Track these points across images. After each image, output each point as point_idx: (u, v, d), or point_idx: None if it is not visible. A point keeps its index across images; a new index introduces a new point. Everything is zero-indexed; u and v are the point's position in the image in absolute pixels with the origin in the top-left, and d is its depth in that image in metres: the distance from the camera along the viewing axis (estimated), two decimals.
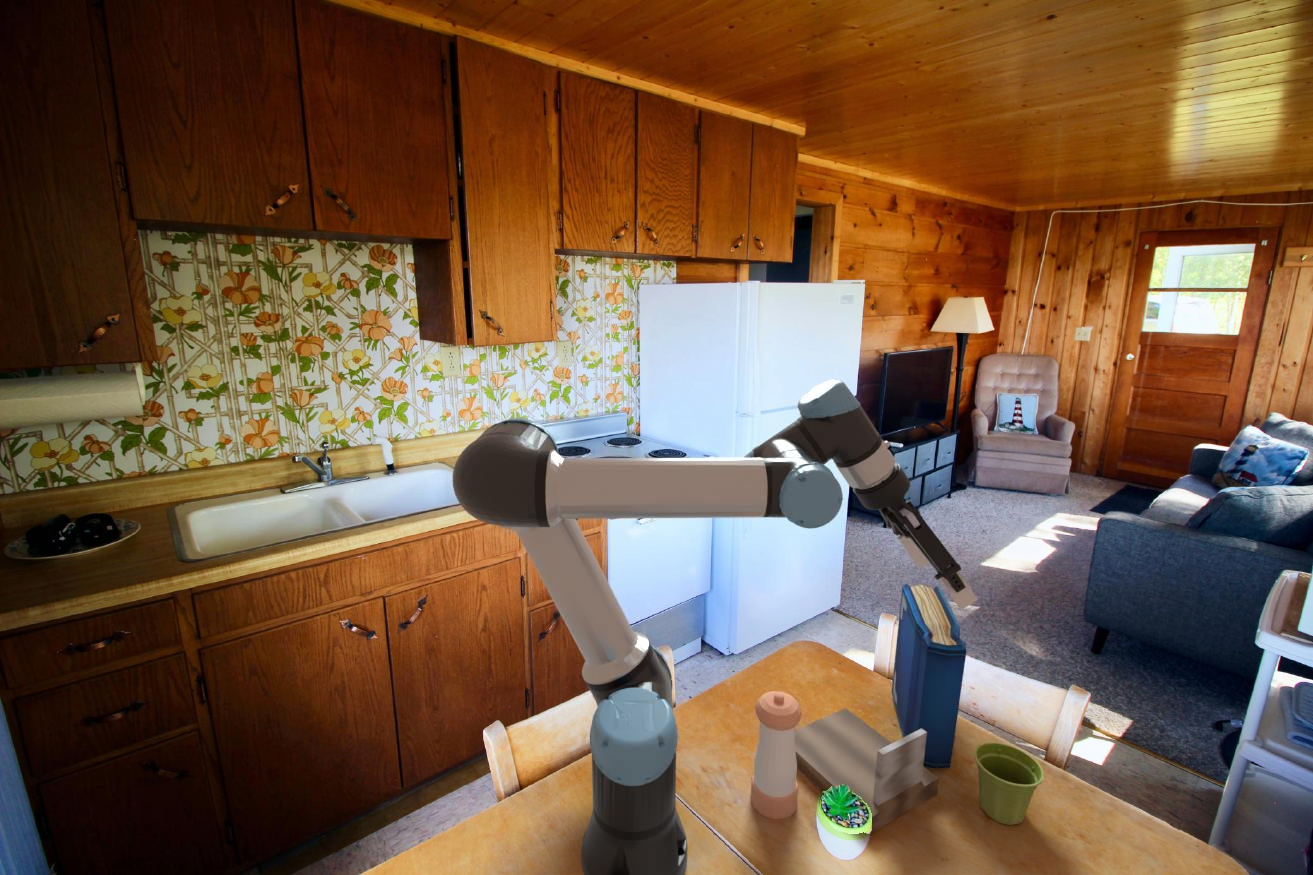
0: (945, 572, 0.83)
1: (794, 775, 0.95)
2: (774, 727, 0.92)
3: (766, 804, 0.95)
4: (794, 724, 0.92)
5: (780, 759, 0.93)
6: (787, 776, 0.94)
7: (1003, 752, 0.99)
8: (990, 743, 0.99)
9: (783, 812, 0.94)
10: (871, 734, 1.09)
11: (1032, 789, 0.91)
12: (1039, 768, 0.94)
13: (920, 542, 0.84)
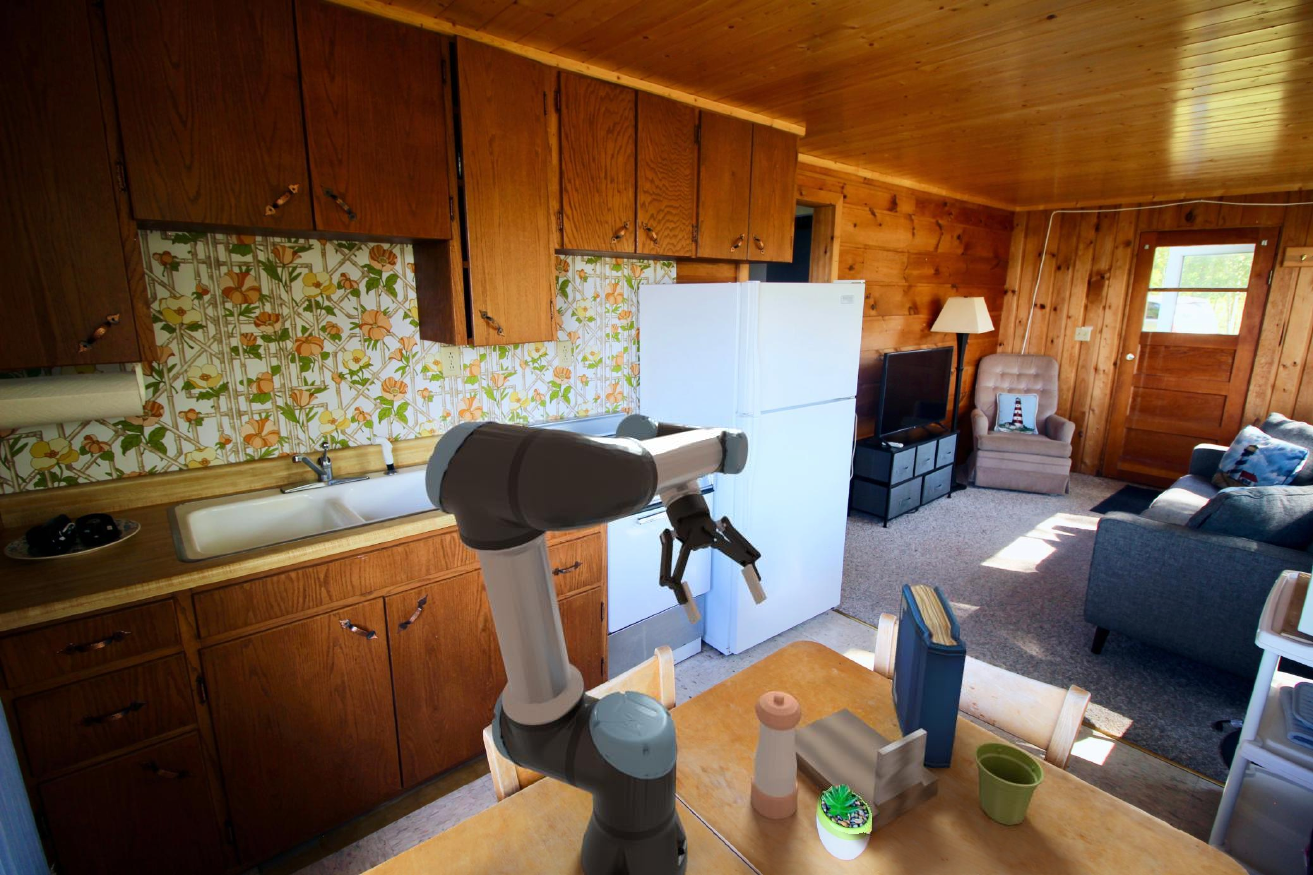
0: None
1: (794, 775, 0.95)
2: (774, 727, 0.92)
3: (766, 804, 0.95)
4: (794, 724, 0.92)
5: (780, 759, 0.93)
6: (787, 776, 0.94)
7: (1003, 752, 0.99)
8: (990, 743, 0.99)
9: (783, 812, 0.94)
10: (871, 734, 1.09)
11: (1032, 789, 0.91)
12: (1039, 768, 0.94)
13: (738, 532, 1.12)
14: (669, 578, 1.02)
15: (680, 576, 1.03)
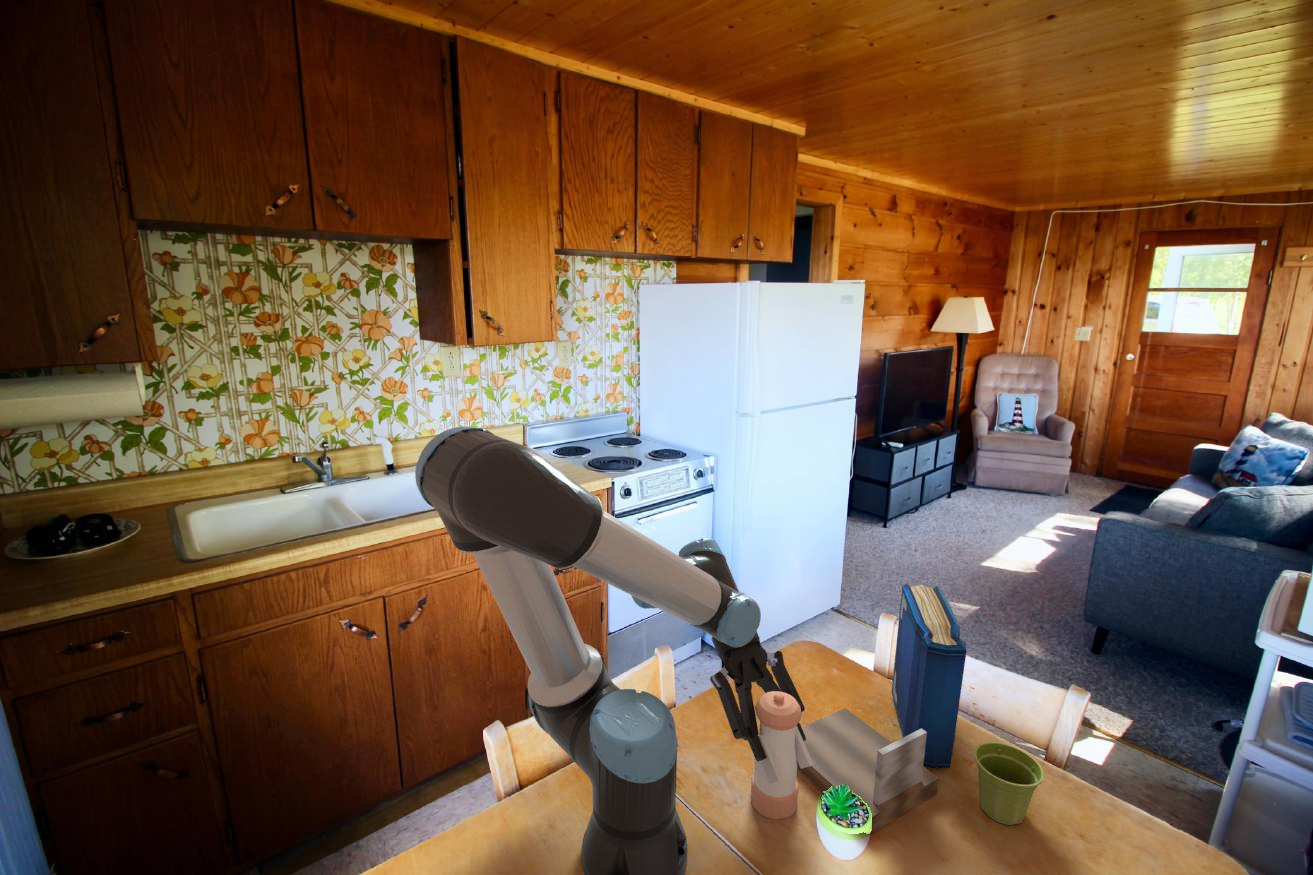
0: None
1: (794, 775, 0.95)
2: (774, 727, 0.92)
3: (766, 804, 0.95)
4: (794, 724, 0.92)
5: (780, 759, 0.93)
6: (787, 776, 0.94)
7: (1003, 752, 0.99)
8: (990, 743, 0.99)
9: (783, 812, 0.94)
10: (871, 734, 1.09)
11: (1032, 789, 0.91)
12: (1039, 768, 0.94)
13: (788, 675, 1.01)
14: (745, 731, 0.93)
15: (755, 727, 0.94)
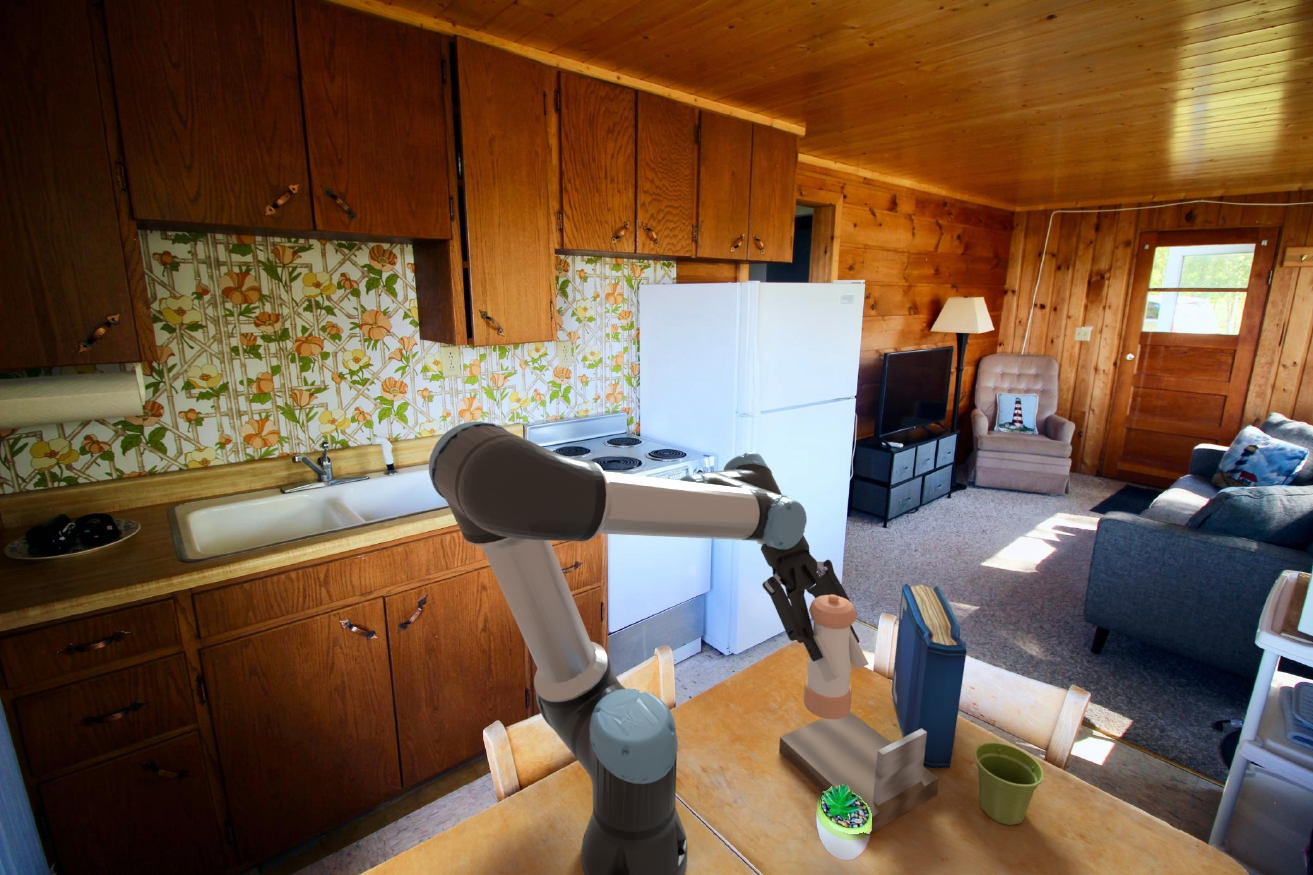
0: None
1: (849, 676, 0.95)
2: (830, 625, 0.92)
3: (821, 705, 0.95)
4: (850, 622, 0.92)
5: (836, 659, 0.94)
6: (842, 676, 0.94)
7: (1003, 752, 0.99)
8: (990, 743, 0.99)
9: (838, 712, 0.95)
10: (871, 734, 1.09)
11: (1032, 789, 0.91)
12: (1039, 768, 0.94)
13: (838, 582, 1.02)
14: (801, 631, 0.94)
15: (810, 628, 0.94)
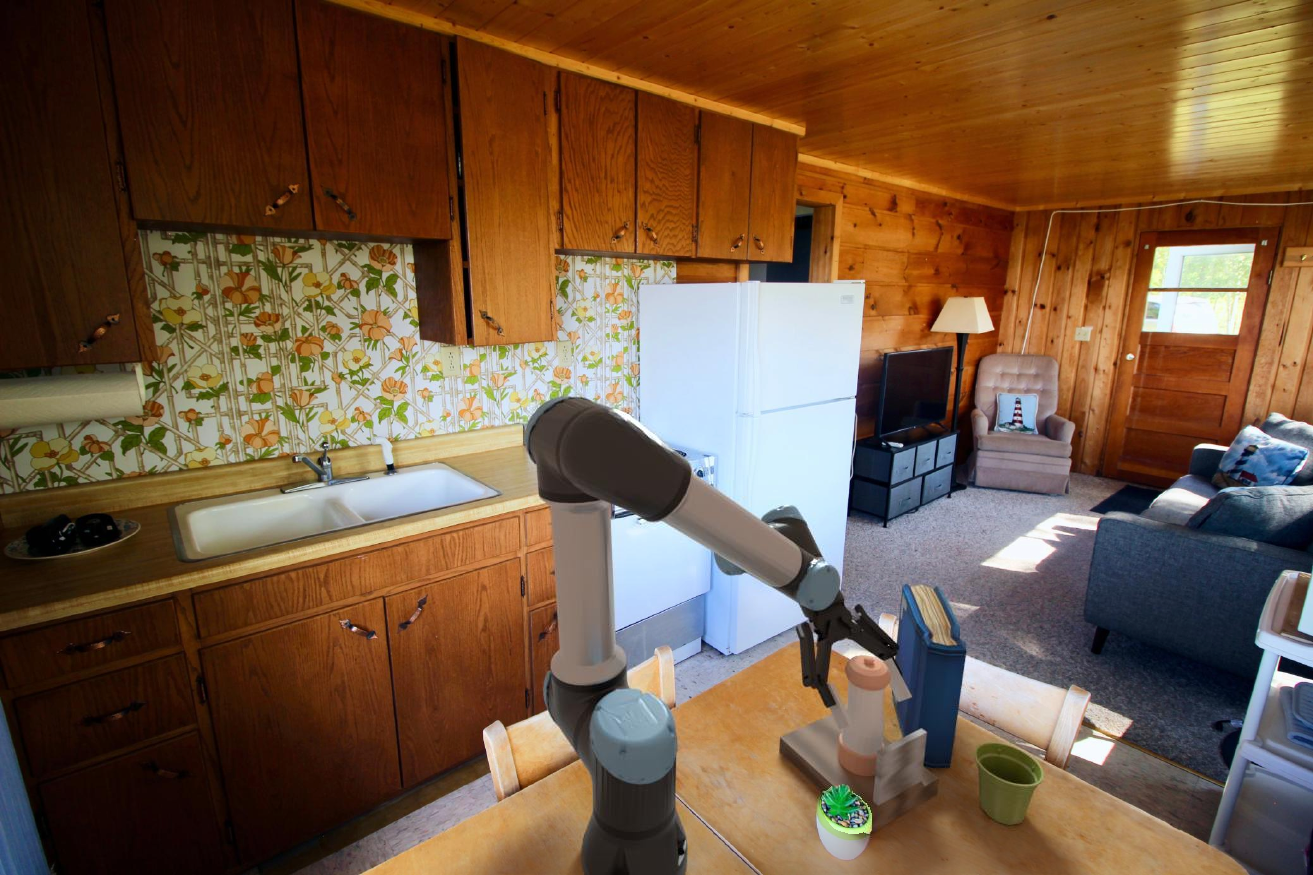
0: None
1: (882, 734, 0.99)
2: (866, 687, 0.96)
3: (856, 762, 0.99)
4: (885, 685, 0.96)
5: (870, 718, 0.98)
6: (876, 735, 0.98)
7: (1003, 752, 0.99)
8: (990, 743, 0.99)
9: (872, 769, 0.99)
10: None
11: (1032, 789, 0.91)
12: (1039, 768, 0.94)
13: (874, 622, 1.07)
14: (815, 679, 0.96)
15: (825, 676, 0.97)
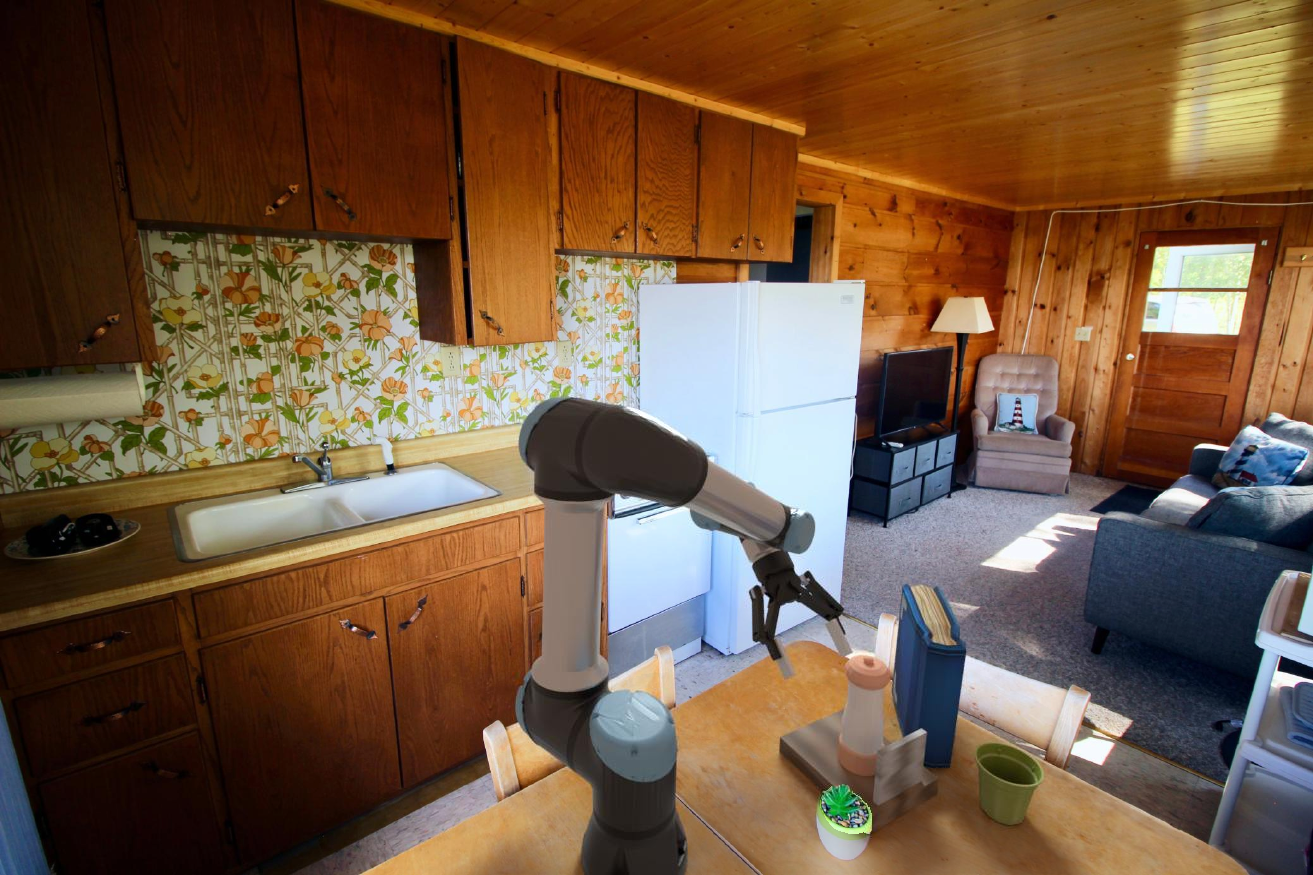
0: None
1: (882, 734, 0.99)
2: (866, 687, 0.96)
3: (856, 762, 0.99)
4: (885, 684, 0.96)
5: (870, 718, 0.98)
6: (876, 735, 0.98)
7: (1003, 752, 0.98)
8: (990, 743, 0.99)
9: (872, 769, 0.99)
10: None
11: (1032, 789, 0.91)
12: (1039, 768, 0.94)
13: (821, 587, 1.18)
14: (763, 635, 1.07)
15: (773, 632, 1.08)
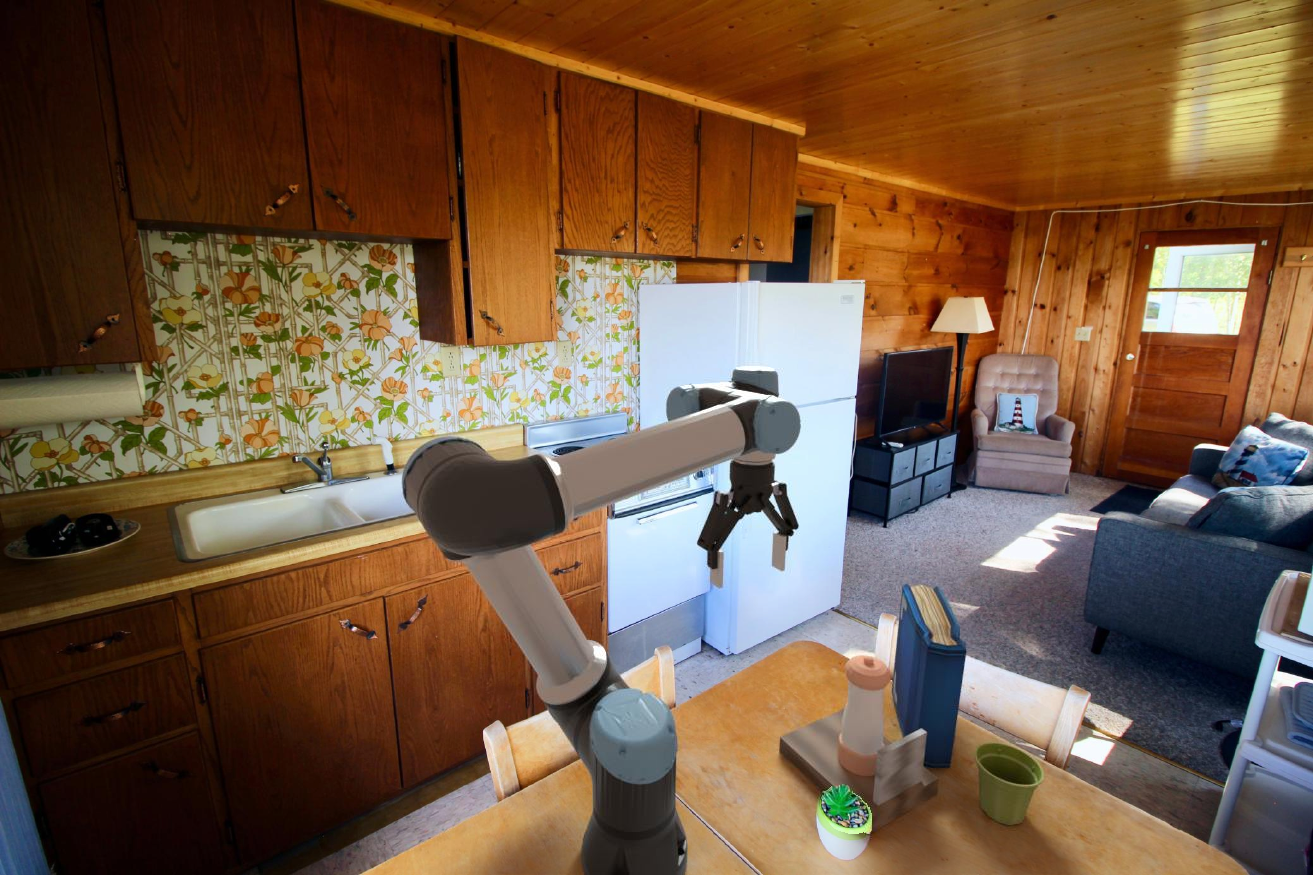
0: None
1: (882, 734, 0.99)
2: (866, 687, 0.96)
3: (856, 762, 0.99)
4: (885, 684, 0.96)
5: (870, 718, 0.98)
6: (876, 735, 0.98)
7: (1003, 752, 0.98)
8: (990, 743, 0.99)
9: (872, 769, 0.99)
10: None
11: (1032, 789, 0.91)
12: (1039, 768, 0.94)
13: None
14: (709, 547, 1.01)
15: (719, 546, 1.02)
